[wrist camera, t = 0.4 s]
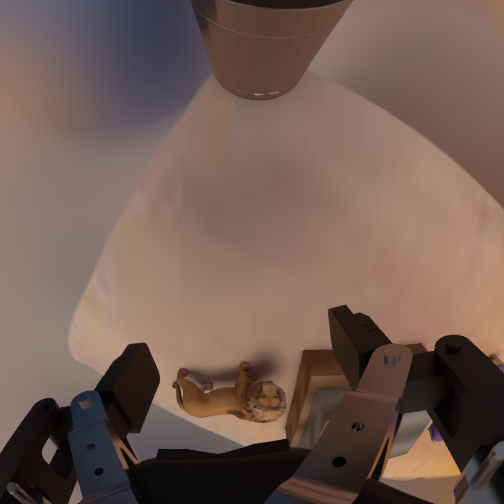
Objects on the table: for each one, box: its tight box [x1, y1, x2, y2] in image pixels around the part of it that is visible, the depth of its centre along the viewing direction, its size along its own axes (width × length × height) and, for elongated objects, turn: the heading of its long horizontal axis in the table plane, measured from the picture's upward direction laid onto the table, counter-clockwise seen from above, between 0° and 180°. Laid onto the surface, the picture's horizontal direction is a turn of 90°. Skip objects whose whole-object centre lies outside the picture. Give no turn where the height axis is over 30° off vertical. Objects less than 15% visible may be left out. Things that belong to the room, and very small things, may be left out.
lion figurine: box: [172, 362, 286, 423], centre depth 29 cm, size 15×5×9 cm, turn 108°
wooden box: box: [285, 344, 431, 459], centre depth 31 cm, size 16×18×10 cm
